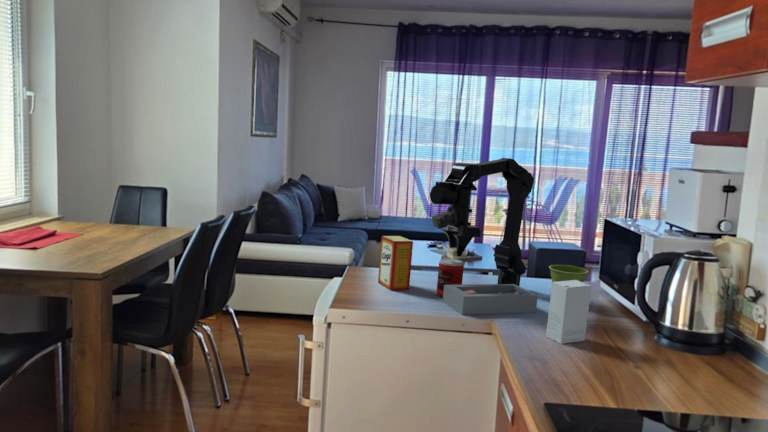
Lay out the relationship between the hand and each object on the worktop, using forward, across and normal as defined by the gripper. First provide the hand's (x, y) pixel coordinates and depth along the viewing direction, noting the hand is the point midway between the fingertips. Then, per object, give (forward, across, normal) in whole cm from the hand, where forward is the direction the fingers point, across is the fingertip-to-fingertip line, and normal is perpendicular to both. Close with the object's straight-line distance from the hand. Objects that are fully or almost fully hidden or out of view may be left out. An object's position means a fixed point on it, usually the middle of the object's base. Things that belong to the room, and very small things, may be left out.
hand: (455, 254), depth 187 cm
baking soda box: (+14, -13, -14) cm, 24 cm away
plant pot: (+13, +11, +34) cm, 38 cm away
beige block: (+1, 0, 0) cm, 1 cm away
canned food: (+13, -1, -1) cm, 13 cm away
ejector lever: (+11, +12, +7) cm, 18 cm away
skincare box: (+13, +41, +12) cm, 45 cm away
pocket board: (+13, +12, +6) cm, 19 cm away
